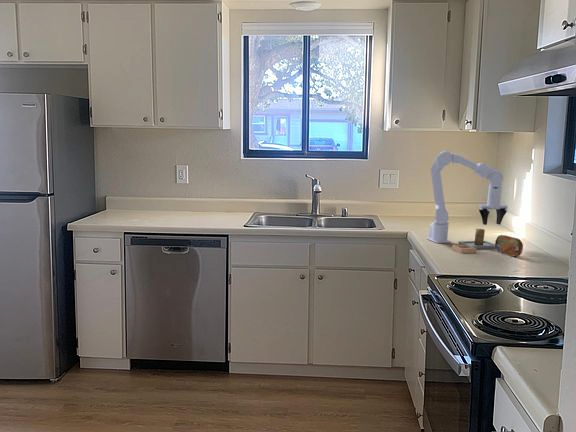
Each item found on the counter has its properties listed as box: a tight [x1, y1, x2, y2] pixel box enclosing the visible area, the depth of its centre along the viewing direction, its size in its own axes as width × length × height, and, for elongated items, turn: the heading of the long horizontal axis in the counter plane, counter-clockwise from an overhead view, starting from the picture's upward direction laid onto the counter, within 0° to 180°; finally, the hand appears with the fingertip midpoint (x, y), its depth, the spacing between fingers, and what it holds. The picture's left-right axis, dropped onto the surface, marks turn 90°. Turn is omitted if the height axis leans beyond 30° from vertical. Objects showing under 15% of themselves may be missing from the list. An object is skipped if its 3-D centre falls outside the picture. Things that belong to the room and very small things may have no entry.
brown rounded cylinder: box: [474, 228, 486, 246], centre depth 271 cm, size 4×4×8 cm
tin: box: [494, 234, 524, 257], centre depth 256 cm, size 15×3×8 cm, turn 21°
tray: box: [457, 240, 496, 250], centre depth 272 cm, size 11×15×2 cm
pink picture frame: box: [451, 244, 477, 254], centre depth 260 cm, size 8×8×2 cm
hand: (491, 224), depth 273 cm, fingers open, 7 cm apart
